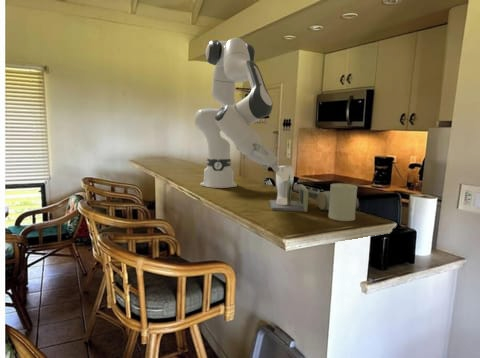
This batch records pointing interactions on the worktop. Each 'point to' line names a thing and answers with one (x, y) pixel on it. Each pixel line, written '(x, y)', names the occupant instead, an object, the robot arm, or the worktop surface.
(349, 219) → the can
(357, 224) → the worktop surface
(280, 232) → the worktop surface
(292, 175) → the beer glass
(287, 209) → the chute mount
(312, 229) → the worktop surface
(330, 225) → the worktop surface
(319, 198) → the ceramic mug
